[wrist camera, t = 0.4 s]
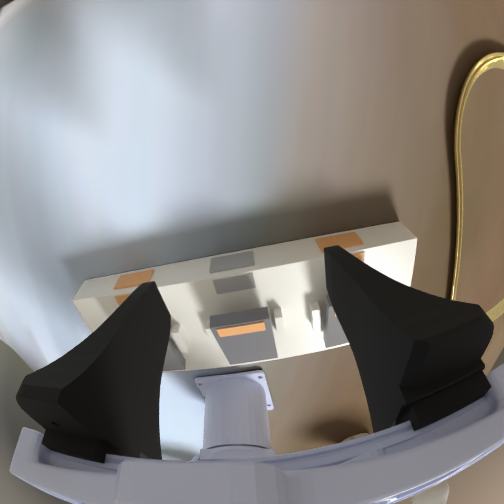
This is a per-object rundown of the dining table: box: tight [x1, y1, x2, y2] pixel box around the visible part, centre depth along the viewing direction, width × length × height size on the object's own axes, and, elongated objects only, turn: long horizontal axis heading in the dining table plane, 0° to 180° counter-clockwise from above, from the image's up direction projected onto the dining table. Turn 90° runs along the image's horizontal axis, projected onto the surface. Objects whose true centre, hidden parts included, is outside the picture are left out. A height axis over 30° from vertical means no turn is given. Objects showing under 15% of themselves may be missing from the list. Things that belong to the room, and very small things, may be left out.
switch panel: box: [72, 221, 417, 373], centre depth 23 cm, size 10×28×4 cm, turn 100°
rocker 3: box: [323, 295, 349, 348], centre depth 20 cm, size 6×4×1 cm, turn 10°
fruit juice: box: [412, 480, 449, 504], centre depth 38 cm, size 9×9×28 cm
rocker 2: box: [210, 306, 278, 365], centre depth 21 cm, size 6×4×1 cm, turn 10°
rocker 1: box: [163, 339, 186, 371], centre depth 21 cm, size 6×4×1 cm, turn 10°
